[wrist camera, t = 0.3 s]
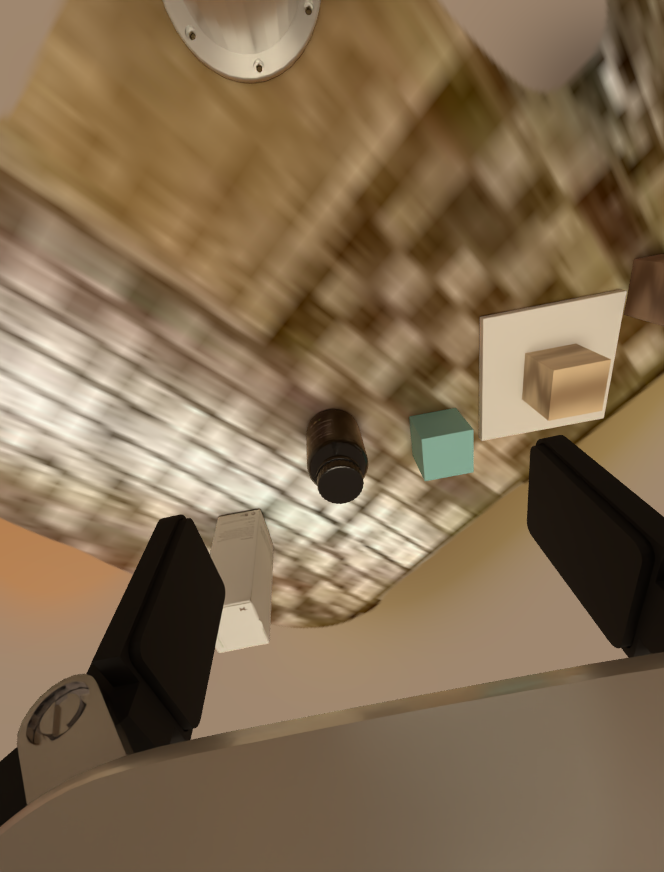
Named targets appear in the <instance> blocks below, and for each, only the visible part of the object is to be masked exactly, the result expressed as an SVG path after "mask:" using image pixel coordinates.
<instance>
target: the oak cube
mask: <svg viewBox="0 0 664 872" xmlns="http://www.w3.org/2000/svg"><path fill="white" fill-rule="evenodd" d="M610 364H611V359H609V358H607V357H605V356H602V355H600V354H598V353H596V352H594V351H591V350H589V349H587V348H585V347H583V346H580V345H578V344H571V345H566V346H560V347H555V348H550V349H545V350H540V351H535V352H529V353H525V362H524V377H523V392H522V400H523V401H525V402H526V403H527V404H528V405H530V406H531V407H532V408H533V409H534V410H536V411H537V412H538V413H539V414H541V415H542V416H543V417H544V418H545V419H547V420H548V421H551V420H556V419H561V418H567V417H572V416H577V415H582V414H588V413H593V412H598V411H602V409H603V403H604V397H605V392H606V386H607V380H608V375H609V369H610Z"/></svg>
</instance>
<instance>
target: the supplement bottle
mask: <svg viewBox="0 0 664 872" xmlns="http://www.w3.org/2000/svg"><path fill="white" fill-rule="evenodd" d="M306 441H307V470H308V474H309V476H310V478H311V480H312V481H313V482H314V483H315V484H316V485H317V486H318V491H319V493H320V494H321V496H322V497H323V498H324V499H325V500H327V501H328V502H332V503H336V504H338V503H340V504H342V503H347V502H350V501H352V500H354V499H355V498H357V496H358V495H360V492H362V489H363V484H364V482H363V479H364V477H365V475H366V473H367V470H368V458H367V454H366V451H365V447H364V444H363V440H362V437H361V433H360V430H359V427H358V424H357V422H356V421H355V419H354V418H353V417H352V416H351V415H350V414H348V413H346V412H344V411H341V410H327V411H323V412H321V413H319V414H318V415H316V416H315V417H314V418H313V419H312V420H311V422H310V423H309V425H308V428H307V436H306Z"/></svg>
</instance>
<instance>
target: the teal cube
mask: <svg viewBox="0 0 664 872" xmlns="http://www.w3.org/2000/svg"><path fill="white" fill-rule="evenodd" d="M409 419H410V430H411V441H412V452H413V457H414V459H415V461H416V464H417V466H418V468H419V470H420V472H421V474H422V476H423V478H424V481H428V480H434V479H439V478H444V477H450V476H455V475H461V474H466V473H471V472H473V428H472V427H471V426H470V425H469V424H468V422H467V421H466V420H465V419H464V417H463V416H462V415H461V414H460V413H459V411H458V410H457V409H456V408H453V409H447V410H442V411H437V412H432V413H426V414H421V415H416V416H411V417H409Z"/></svg>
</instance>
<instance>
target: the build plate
mask: <svg viewBox="0 0 664 872" xmlns="http://www.w3.org/2000/svg"><path fill="white" fill-rule="evenodd" d="M626 292H627V291H625V290H616V291H610V292H605V293H600V294H595V295H590V296H585V297H580V298H575V299H569V300H564V301H559V302H554V303H549V304H544V305H539V306H534V307H528V308H523V309H518V310H513V311H508V312H503V313H498V314H493V315H488V316H482V317H480V355H479V438H480V439H481V440H482V441H484V440H489V439H495V438H500V437H505V436H511V435H516V434H521V433H527V432H532V431H537V430H543V429H548V428H553V427H559V426H564V425H569V424H574V423H580V422H585V421H590V420H596V419H601V418H604V413H605V408H606V402H607V397H608V391H609V386H610V380H611V375H612V369H613V364H614V358H615V353H616V347H617V342H618V336H619V331H620V325H621V320H622V314H623V309H624V303H625V298H626ZM571 344H578V345H580V346H583V347H585V348H587V349H589V350H591V351H594V352H596V353H598V354H600V355H602V356H605V357H607V358H609V359H611V364H610V369H609V375H608V380H607V386H606V392H605V397H604V403H603V409H602V411H598V412H593V413H588V414H582V415H577V416H572V417H567V418H561V419H556V420H551V421H548V420H547V419H545V418H544V417H543V416H542V415H541V414H539V413H538V412H537V411H536V410H534V409H533V408H532V407H531V406H530V405H528V404H527V403H526V402H525V401H523V400H522V392H523V377H524V362H525V353H529V352H535V351H540V350H545V349H550V348H555V347H560V346H566V345H571Z"/></svg>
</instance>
